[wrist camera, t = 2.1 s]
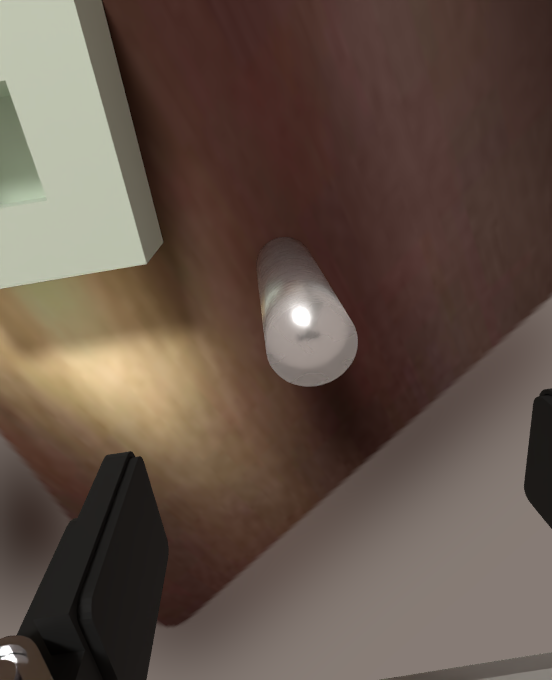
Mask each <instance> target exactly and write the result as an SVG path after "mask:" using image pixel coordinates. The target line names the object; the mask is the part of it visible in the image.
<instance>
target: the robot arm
mask: <svg viewBox="0 0 552 680" xmlns="http://www.w3.org/2000/svg"><path fill="white" fill-rule="evenodd" d="M524 490H525V494H526V496H527V498H528V500H529V501H530V503H531V504H532V505H533V507H534V508H535V509H536V510H537V511H538V513H539V514H540V515H541V516H542V518H543V519H544V520H545V521H546V522H547V524H548V525H549V526H550V527H551V528H552V389H545V390H543V391H542V392H541V393H540V396H539V397H536V398H535V400H534V403H533V411H532V420H531V429H530V438H529V446H528V455H527V464H526V473H525V482H524ZM167 561H168V541H167V537H166V534H165V531H164V527H163V524H162V521H161V517H160V514H159V511H158V507H157V504H156V501H155V497H154V494H153V491H152V488H151V484H150V481H149V478H148V474H147V471H146V468H145V464H144V461H143V459H142V457H140V456H139V457H135V455H134V454H133V452H131V451H130V452H124V453H117V454H110V455H107V456H105V458H104V460H103V462H102V464H101V466H100V469H99V471H98V473H97V476H96V478H95V480H94V482H93V485H92V487H91V489H90V491H89V494H88V496H87V498H86V500H85V503H84V505H83V507H82V509H81V512H80V514H79V516H78V518H75V519H73V520H72V521H70V522H69V524H68V526H67V527H66V530H65V532H64V534H63V536H62V538H61V540H60V542H59V545H58V547H57V549H56V551H55V553H54V555H53V558H52V560H51V562H50V564H49V566H48V569H47V571H46V573H45V575H44V577H43V579H42V582H41V584H40V586H39V588H38V590H37V592H36V594H35V597H34V599H33V601H32V603H31V605H30V607H29V610H28V612H27V614H26V616H25V618H24V620H23V623H22V625H21V627H20V629H19V631H18V634H17V635H16V636H7V637H4V638H1V639H0V680H146V679H147V673H148V667H149V662H150V656H151V651H152V645H153V639H154V634H155V628H156V623H157V617H158V611H159V606H160V600H161V594H162V589H163V583H164V578H165V572H166V566H167ZM381 680H552V653H545V654H539V655H532V656H526V657H519V658H513V659H508V660H501V661H494V662H488V663H482V664H475V665H469V666H463V667H456V668H450V669H444V670H438V671H432V672H425V673H419V674H413V675H406V676H401V677H394V678H388V679H381Z"/></svg>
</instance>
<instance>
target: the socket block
mask: <svg viewBox="0 0 552 680" xmlns="http://www.w3.org/2000/svg"><path fill="white" fill-rule="evenodd" d="M162 244H163V239H162V235H161V231H160V227H159V223H158V219H157V215H156V212H155V208H154V204H153V200H152V196H151V192H150V188H149V184H148V180H147V176H146V172H145V169H144V165H143V161H142V157H141V153H140V149H139V145H138V141H137V137H136V133H135V129H134V126H133V122H132V118H131V114H130V110H129V106H128V102H127V98H126V94H125V90H124V86H123V83H122V79H121V75H120V71H119V67H118V63H117V59H116V55H115V51H114V47H113V43H112V40H111V36H110V32H109V28H108V24H107V20H106V16H105V12H104V8H103V4H102V0H0V289H2V288H8V287H14V286H20V285H25V284H31V283H37V282H43V281H49V280H55V279H61V278H67V277H73V276H79V275H85V274H91V273H97V272H103V271H109V270H115V269H120V268H126V267H132V266H138V265H144V264H147V263H148V262H149V260H150V259H151V258H152V257H153V255H154V254H155V253H156V251H157V250H158V249H159V248H160V246H161V245H162Z"/></svg>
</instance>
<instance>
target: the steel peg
mask: <svg viewBox="0 0 552 680" xmlns="http://www.w3.org/2000/svg"><path fill="white" fill-rule="evenodd" d="M256 268H257V277H258V285H259V294H260V302H261V311H262V319H263V328H264V336H265V345H266V353H267V357H268V360H269V363H270V365H271V367H272V368H273V370H274V371H275V372H276V373H277V374H278V375H279V376H280V377H281V378H283V379H284V380H286V381H288V382H290V383H292V384H295V385H299V386H319V385H323V384H326V383H329V382H331V381H333V380H335V379H336V378H338V377H339V376H340V375H342V374H343V373H344V372H345V371H346V370H347V369H348V367H349V366H350V365H351V363H352V361H353V360H354V357H355V355H356V351H357V345H358V338H357V332H356V329H355V327H354V325H353V323H352V321H351V319H350V318H349V316H348V314H347V313H346V311H345V310H344V308H343V306H342V305H341V303H340V301H339V300H338V298H337V296H336V295H335V293H334V292H333V290H332V288H331V287H330V285H329V283H328V282H327V280H326V278H325V277H324V275H323V274H322V272H321V270H320V269H319V267H318V265H317V264H316V262H315V261H314V259H313V257H312V256H311V254H310V252H309V251H308V249H307V248H306V247H305V245H304V244H302V243H301V242H300V241H298V240H296V239H293V238H289V237H280V238H276V239H274V240H272V241H270V242H268V243H267V244H266V245H265V246H264V247H263V248H262V249H261V251H260V252H259V255H258V257H257V262H256Z"/></svg>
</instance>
